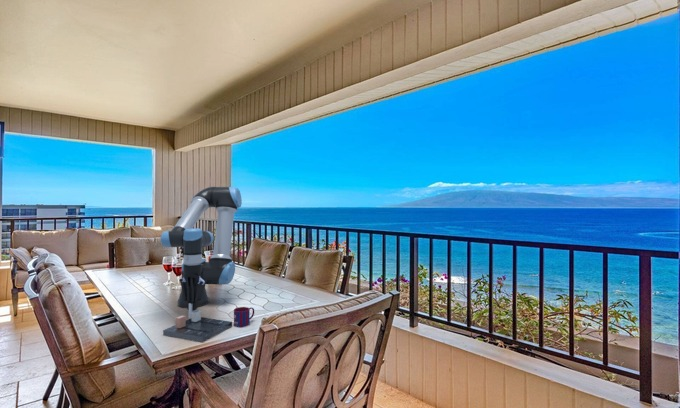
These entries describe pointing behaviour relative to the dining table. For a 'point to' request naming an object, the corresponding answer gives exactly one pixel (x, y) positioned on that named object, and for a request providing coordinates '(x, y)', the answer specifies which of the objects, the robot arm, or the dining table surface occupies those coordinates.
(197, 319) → the fader
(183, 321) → the fader
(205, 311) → the dining table surface
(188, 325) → the dark grey slider board
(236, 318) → the mug
